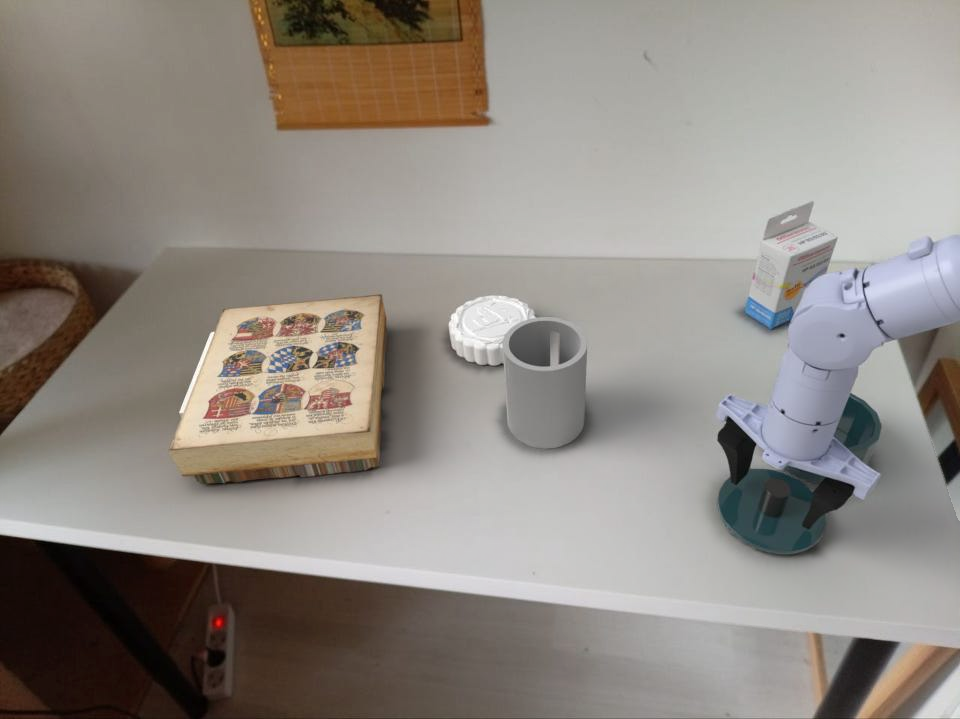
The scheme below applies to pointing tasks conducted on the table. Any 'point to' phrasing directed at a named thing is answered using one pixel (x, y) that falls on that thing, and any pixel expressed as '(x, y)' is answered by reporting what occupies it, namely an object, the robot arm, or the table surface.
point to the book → (286, 392)
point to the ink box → (787, 265)
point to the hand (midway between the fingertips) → (773, 499)
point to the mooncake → (485, 327)
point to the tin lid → (769, 512)
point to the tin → (852, 434)
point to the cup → (545, 382)
